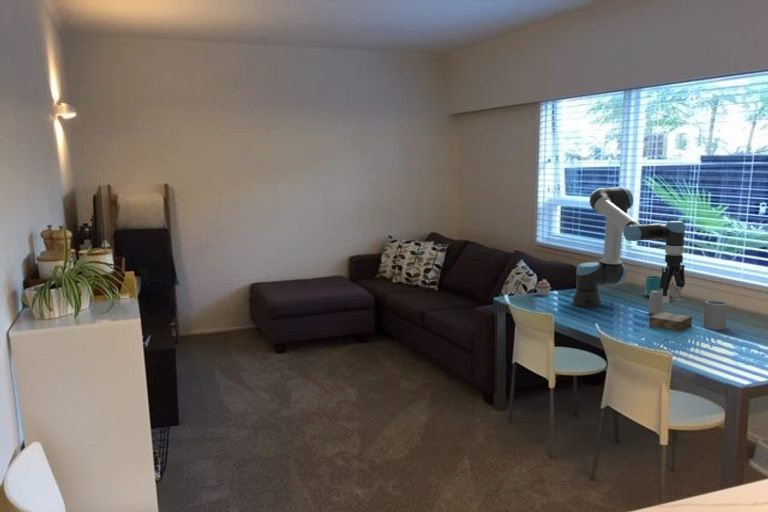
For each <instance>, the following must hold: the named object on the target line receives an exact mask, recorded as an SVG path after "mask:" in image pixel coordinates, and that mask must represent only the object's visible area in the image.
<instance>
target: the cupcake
mask: <svg viewBox="0 0 768 512" xmlns="http://www.w3.org/2000/svg"><path fill="white" fill-rule="evenodd" d="M551 289H552V287H551V285H550V283H549V282H548V281H547V279H544V278H542V280H540V281H538V283H537V284H536V286H535V290H536V292H537V296H539V297H549V295H550V291H551Z"/></svg>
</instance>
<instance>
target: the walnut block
mask: <svg viewBox="0 0 768 512" xmlns="http://www.w3.org/2000/svg"><path fill="white" fill-rule="evenodd" d="M692 318H693V317H692V316H691V315H684V314H678V313H674V312H667V311H665V312H660V313H657V314H655V315H654V314H652V315H651V316H649V319H648V320H649V322H648V326H649V327H654V328H658V329H659V328H660V329H666V330H670V331H676V332H681V330H682V331H683V330H685V329H687V328H689V327H691V326H692V321H693V319H692Z"/></svg>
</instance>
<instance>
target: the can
mask: <svg viewBox="0 0 768 512" xmlns="http://www.w3.org/2000/svg"><path fill="white" fill-rule="evenodd" d="M662 295H663V291H658V290H653V291H651V293H650V295H649V297H648V298H649V299H648V313H649V314H650V315H655V314H657V313H660V312H666V311H665V310H666V303H664V302H663V296H662Z"/></svg>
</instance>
